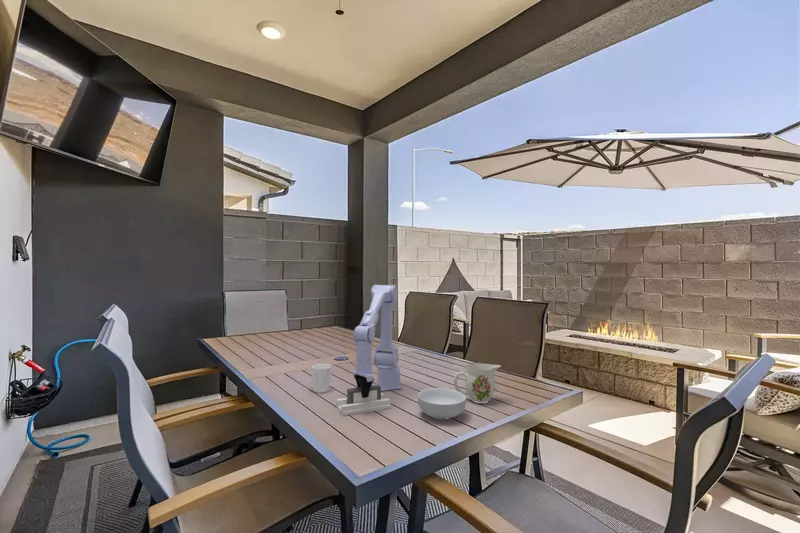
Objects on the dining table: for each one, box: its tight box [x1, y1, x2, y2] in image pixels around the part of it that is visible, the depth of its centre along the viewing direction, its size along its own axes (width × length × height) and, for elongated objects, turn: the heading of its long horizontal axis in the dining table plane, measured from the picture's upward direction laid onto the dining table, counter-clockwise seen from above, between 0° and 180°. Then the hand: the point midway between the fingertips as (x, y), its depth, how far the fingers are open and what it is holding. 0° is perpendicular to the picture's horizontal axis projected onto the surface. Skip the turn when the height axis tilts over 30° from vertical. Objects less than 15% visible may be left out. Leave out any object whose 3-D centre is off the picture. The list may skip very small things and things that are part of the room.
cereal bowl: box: [417, 387, 467, 420], centre depth 133 cm, size 17×17×7 cm
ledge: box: [335, 392, 392, 417], centre depth 139 cm, size 18×9×3 cm, turn 114°
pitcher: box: [453, 363, 502, 402], centre depth 147 cm, size 11×18×14 cm, turn 88°
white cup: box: [311, 363, 332, 394], centre depth 158 cm, size 8×8×10 cm
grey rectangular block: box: [346, 384, 382, 404], centre depth 139 cm, size 12×3×6 cm, turn 114°
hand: (363, 395), depth 139 cm, fingers closed on grey rectangular block, 3 cm apart
